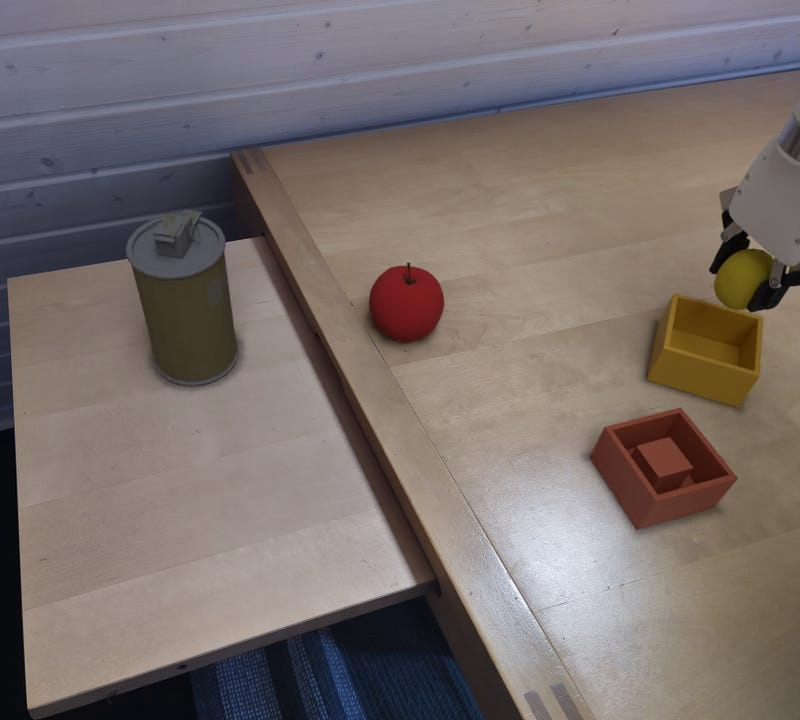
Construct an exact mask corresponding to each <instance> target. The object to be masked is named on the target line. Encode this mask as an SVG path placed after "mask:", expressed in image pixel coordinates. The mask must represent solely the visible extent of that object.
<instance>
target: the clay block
mask: <svg viewBox="0 0 800 720" xmlns="http://www.w3.org/2000/svg"><path fill="white" fill-rule="evenodd" d="M631 457H632V459H633V460H634V462H635V463H636V464H637V466H638V467H639V469H640V470H641V472H642V473H643V474H644V476H645V477H646V479H647V480H648V482H649V483H650V484H651V486H652V487H653V489H654V490H655V492H656V493H657V495H658V494H662V493H665V492H669V491H672V490H676V489H679V488H680V486H681V485H682V483H683V482H684V480H685V479H686V478H687V476H688V475H689V473H690V472H691V470H692V469H693V466H692V465H691V464H690V463H689V461H688V460H687V459H686V457H685V456H684V455H683V453H682V452H681V451H680V450H679V448H678V447H677V446H676V444H675V443H674V442H673V440H672V439H671V438H670V437H668V438H664V439H660V440H656V441H653V442H649V443H645V444H641V445H638V446H636V448H635V449H634V451H633V453H632V455H631Z"/></svg>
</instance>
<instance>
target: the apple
mask: <svg viewBox="0 0 800 720" xmlns="http://www.w3.org/2000/svg"><path fill="white" fill-rule="evenodd" d="M374 281H375V282H374V283H373V285H372V287H371V289H370V292H369V297H368V308H369V312H370V316H371V318H372V321H373V322H374V324H375V326H376V327H377V329H378V330H379V331H380V332H381V333H382V334H384V335H385V336H387V337H388V338H390V339H393V340H396V341H398V342H401V343H411V342H415V341H419V340H421V339H423V338H425V337H427V336H428V335H429V334H431V333H432V332H433V331H434V330H435V329H436V327H437V325H438V324H439V322H440V320H441V318H442V315H443V313H444V308H445V296H444V291H443V289H442V286H441V284H440V282H439V280H438V279H437V278H436V276H434V275H433V273H431V272H429V271H428V270H426V269H423V268H422V267H417V266H411V262H406V265H396V266H391V267H389V268H388V269H386V270H384V272H382V273H381V274H380V275H378V277H377V278H376V280H374Z"/></svg>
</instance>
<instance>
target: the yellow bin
mask: <svg viewBox="0 0 800 720" xmlns="http://www.w3.org/2000/svg"><path fill="white" fill-rule="evenodd" d="M656 325H657V326H656V330H655V336H654V341H653V345H652V352H651V356H650V361H649V365H648V366H649V367H648V372H647V376H646V381H649V382H653V383H656V384H659V385H663V386H665V387H669V388H673V389H676V390H679V391H682V392H685V393H688V394H692V395H694V396H699V397H702V398H705V399H708V400H712V401H715V402H718V403H720V404H721V403H722V404H723V405H724V404H725V405H728V406H731V407H734V408H739V407H740V406H741V404H742V403H743V401H744V400H745V399H746V397H747V396H748V394H749V393H750V392H751V390H752V389H753V387H754V386H755V385H756V383H757V382H758V380H759V379H760V377H761V369H762V368H761V367H762V366H761V365H762V351H763V349H762V348H763V332H764V331H763V330H764V316H761V315H757V314H753V313H750V312H746V311H744V310H736V309H732V308H728V307H727V306H725V305H724V306H723V305H721V304H716V303H712V302H710V301H705V300H701V299H698V298H695V297H690V296H687V295H683V294H679V293H676V292H673V293H672V295H671V297H670V299H669V301H668V303H667V305H666V307H665V309H664V311H663V313H662V314H661V317H660V319H659V322H658V323H657V324H656Z"/></svg>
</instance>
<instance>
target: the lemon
mask: <svg viewBox="0 0 800 720" xmlns="http://www.w3.org/2000/svg"><path fill="white" fill-rule="evenodd" d="M773 262H774V257H773V256H772V255H771V254H770V253H769V252H767V251H766V250H763V249H759V248H748V249H745V250H741V251H738V252H736V253H734V254H733V255H731V256H730V257H729V258H728V259H727V260H726V261H725V262H724V263H723V265H722V266H721V267H720V269H719V270H718V272H717V274H715V278H714V282H713V290H714V294H715V296H716V298H717V300H718V301H719V303H721V304H722V305H724V307H728V308H731V309H735V310H739V311H745V310H747V305H748V304H749V302H750V300H751V299H752V297H753V295H754V294H755V292H756V291H757V289H758V287H759V286H760V284H761V283H762V282H763V281H766V280H769V279H770V275H771V271H772V266H773Z"/></svg>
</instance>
